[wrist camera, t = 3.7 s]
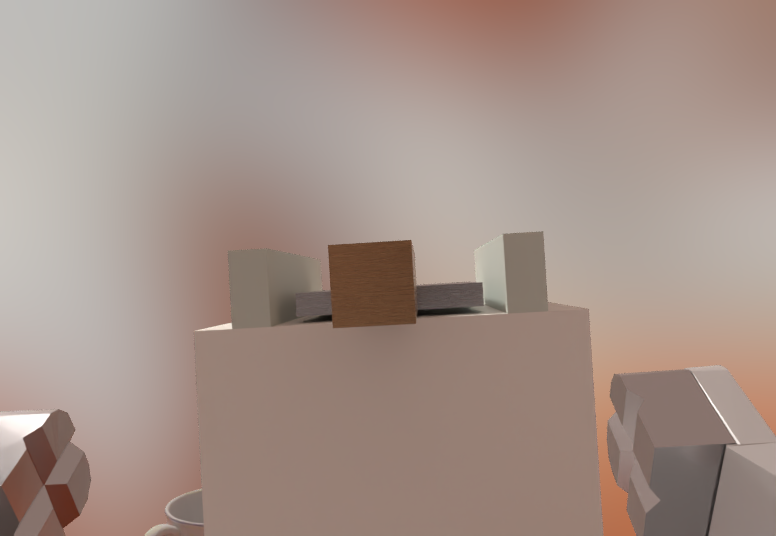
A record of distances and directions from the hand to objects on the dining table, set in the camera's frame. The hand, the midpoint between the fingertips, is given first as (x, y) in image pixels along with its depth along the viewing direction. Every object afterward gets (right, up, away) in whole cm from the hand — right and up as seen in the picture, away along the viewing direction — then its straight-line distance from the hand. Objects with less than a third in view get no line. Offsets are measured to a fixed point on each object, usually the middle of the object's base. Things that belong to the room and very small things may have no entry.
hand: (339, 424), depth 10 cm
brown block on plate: (+1, +1, +19) cm, 19 cm away
